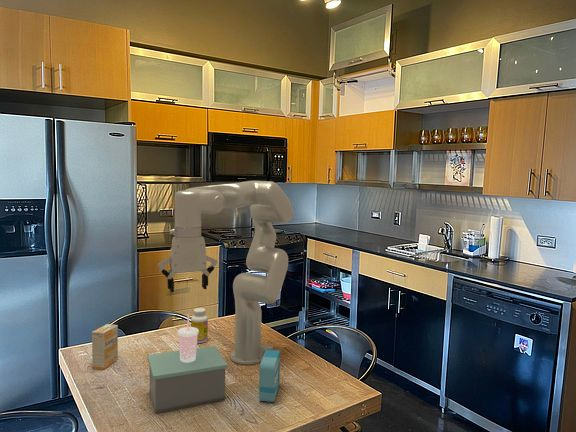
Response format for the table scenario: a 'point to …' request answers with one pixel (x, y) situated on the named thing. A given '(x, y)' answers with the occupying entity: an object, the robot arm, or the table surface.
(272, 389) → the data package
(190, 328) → the beverage cup
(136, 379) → the table surface
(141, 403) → the table surface
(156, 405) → the storage box
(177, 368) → the lid
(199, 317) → the supplement bottle
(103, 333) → the supplement box
